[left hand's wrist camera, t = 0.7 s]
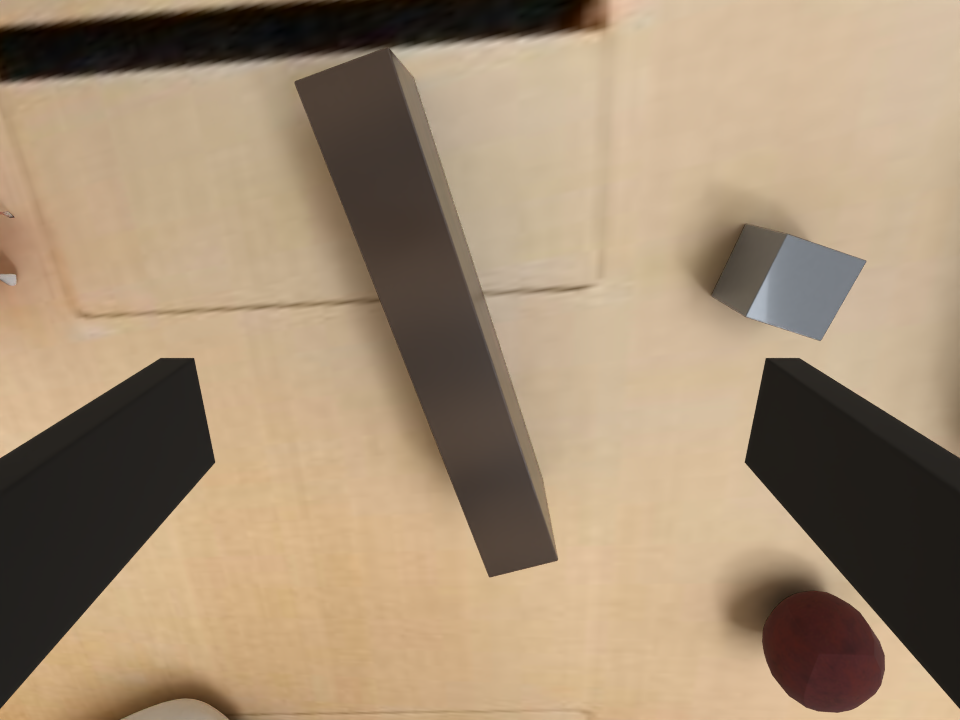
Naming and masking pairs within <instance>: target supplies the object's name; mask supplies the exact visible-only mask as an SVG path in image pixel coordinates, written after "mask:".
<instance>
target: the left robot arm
mask: <svg viewBox="0 0 960 720" xmlns="http://www.w3.org/2000/svg"><path fill="white" fill-rule="evenodd" d="M214 463H215V459H214V454H213V449H212V444H211V439H210V434H209V429H208V424H207V419H206V414H205V410H204V405H203V400H202V395H201V390H200V385H199V380H198V375H197V370H196V365H195V360H194V358H160V359H159V360H157V361H155V362H154V363H152V364H151V365H149V366H147V367H146V368H144V369H143V370H141V371H139V372H138V373H136V374H135V375H133V376H131V377H130V378H128V379H127V380H125V381H123V382H122V383H120V384H119V385H117V386H115V387H114V388H112V389H111V390H109V391H107V392H106V393H104V394H102V395H101V396H99V397H98V398H96V399H94V400H93V401H91V402H90V403H88V404H86V405H85V406H83V407H82V408H80V409H78V410H77V411H75V412H74V413H72V414H70V415H69V416H67V417H66V418H64V419H62V420H61V421H59V422H58V423H56V424H54V425H53V426H51V427H50V428H48V429H46V430H45V431H43V432H42V433H40V434H38V435H37V436H35V437H34V438H32V439H30V440H29V441H27V442H26V443H24V444H22V445H21V446H19V447H18V448H16V449H14V450H13V451H11V452H10V453H8V454H6V455H5V456H3V457H2V458H0V708H1V707H2V706H3V705H4V704H5V703H6V702H7V700H8V699H9V698H10V697H11V696H12V695H13V694H14V692H15V691H16V690H17V689H18V688H19V687H20V686H21V684H22V683H23V682H24V681H25V680H26V679H27V678H28V676H29V675H30V674H31V673H32V672H33V671H34V669H35V668H36V667H37V666H38V665H39V664H40V663H41V661H42V660H43V659H44V658H45V657H46V656H47V655H48V653H49V652H50V651H51V650H52V649H53V648H54V647H55V645H56V644H57V643H58V642H59V641H60V640H61V639H62V637H63V636H64V635H65V634H66V633H67V632H68V631H69V629H70V628H71V627H72V626H73V625H74V624H75V622H76V621H77V620H78V619H79V618H80V617H81V616H82V614H83V613H84V612H85V611H86V610H87V609H88V608H89V606H90V605H91V604H92V603H93V602H94V601H95V600H96V598H97V597H98V596H99V595H100V594H101V593H102V592H103V590H104V589H105V588H106V587H107V586H108V585H109V584H110V582H111V581H112V580H113V579H114V578H115V577H116V576H117V574H118V573H119V572H120V571H121V570H122V569H123V567H124V566H125V565H126V564H127V563H128V562H129V561H130V559H131V558H132V557H133V556H134V555H135V554H136V553H137V551H138V550H139V549H140V548H141V547H142V546H143V545H144V543H145V542H146V541H147V540H148V539H149V538H150V537H151V535H152V534H153V533H154V532H155V531H156V530H157V529H158V527H159V526H160V525H161V524H162V523H163V522H164V520H165V519H166V518H167V517H168V516H169V515H170V514H171V512H172V511H173V510H174V509H175V508H176V507H177V506H178V504H179V503H180V502H181V501H182V500H183V499H184V498H185V496H186V495H187V494H188V493H189V492H190V491H191V490H192V488H193V487H194V486H195V485H196V484H197V483H198V482H199V480H200V479H201V478H202V477H203V476H204V475H205V473H206V472H207V471H208V470H209V469H210V468H211V467H212V465H213V464H214ZM745 463H746V464H747V465H748V467H749V468H750V469H751V470H752V471H753V472H754V473H755V475H756V476H757V477H758V478H759V479H760V480H761V482H762V483H763V484H764V485H765V486H766V487H767V488H768V490H769V491H770V492H771V493H772V494H773V495H774V496H775V498H776V499H777V500H778V501H779V502H780V503H781V504H782V506H783V507H784V508H785V509H786V510H787V511H788V512H789V514H790V515H791V516H792V517H793V518H794V519H795V520H796V522H797V523H798V524H799V525H800V526H801V527H802V529H803V530H804V531H805V532H806V533H807V534H808V535H809V537H810V538H811V539H812V540H813V541H814V542H815V543H816V545H817V546H818V547H819V548H820V549H821V550H822V551H823V553H824V554H825V555H826V556H827V557H828V558H829V559H830V561H831V562H832V563H833V564H834V565H835V566H836V567H837V569H838V570H839V571H840V572H841V573H842V574H843V576H844V577H845V578H846V579H847V580H848V581H849V582H850V584H851V585H852V586H853V587H854V588H855V589H856V590H857V592H858V593H859V594H860V595H861V596H862V597H863V598H864V600H865V601H866V602H867V603H868V604H869V605H870V606H871V608H872V609H873V610H874V611H875V612H876V613H877V614H878V616H879V617H880V618H881V619H882V620H883V621H884V622H885V624H886V625H887V626H888V627H889V628H890V629H891V631H892V632H893V633H894V634H895V635H896V636H897V637H898V639H899V640H900V641H901V642H902V643H903V644H904V645H905V647H906V648H907V649H908V650H909V651H910V652H911V653H912V655H913V656H914V657H915V658H916V659H917V660H918V661H919V663H920V664H921V665H922V666H923V667H924V668H925V669H926V671H927V672H928V673H929V674H930V675H931V676H932V678H933V679H934V680H935V681H936V682H937V683H938V684H939V686H940V687H941V688H942V689H943V690H944V691H945V692H946V694H947V695H948V696H949V697H950V698H951V699H952V700H953V702H954V703H955V704H956V705H957V706H958V707H959V708H960V458H958V457H957V456H955V455H954V454H952V453H950V452H949V451H947V450H946V449H944V448H942V447H941V446H939V445H938V444H936V443H934V442H933V441H931V440H930V439H928V438H926V437H925V436H923V435H922V434H920V433H918V432H917V431H915V430H914V429H912V428H910V427H909V426H907V425H906V424H904V423H902V422H901V421H899V420H898V419H896V418H894V417H893V416H891V415H890V414H888V413H886V412H885V411H883V410H882V409H880V408H878V407H877V406H875V405H874V404H872V403H870V402H869V401H867V400H866V399H864V398H862V397H861V396H859V395H858V394H856V393H854V392H853V391H851V390H849V389H848V388H846V387H845V386H843V385H841V384H840V383H838V382H837V381H835V380H833V379H832V378H830V377H829V376H827V375H825V374H824V373H822V372H821V371H819V370H817V369H816V368H814V367H813V366H811V365H809V364H808V363H806V362H805V361H803V360H801V359H800V358H766V360H765V365H764V370H763V375H762V380H761V385H760V390H759V395H758V400H757V405H756V410H755V414H754V419H753V424H752V429H751V434H750V439H749V444H748V449H747V454H746V459H745Z"/></svg>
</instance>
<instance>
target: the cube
mask: <svg viewBox="0 0 960 720" xmlns="http://www.w3.org/2000/svg"><path fill="white" fill-rule="evenodd" d="M865 263H866V260H863V259H860V258H857V257H854V256H851V255H848V254H845V253H842V252H839V251H837V250H834V249H831V248H828V247H825V246H822V245H819V244H816V243H813V242H810V241H807V240H804V239H801V238H798V237H795V236H793V235H790V234H786V233H782V232H778V231H774V230H770V229H766V228H762V227H758V226H754V225H750V224H745V226H744V228H743V230H742V233H741V235H740V237H739V239H738V241H737V243H736V245H735V247H734V249H733V251H732V253H731V255H730V258H729V260H728V262H727V264H726V266H725V268H724V270H723V272H722V274H721V276H720V278H719V280H718V283H717V285H716V287H715V289H714V291H713V293H712V295H711V296H712V297H713V298H715V299H717V300H718V301H720V302H722V303H723V304H725V305H726V306H728V307H730V308H731V309H733V310H735V311H736V312H738V313H740V314H741V315H743V316H745V317H747V318H750V319H753V320H756V321H759V322H763V323H766V324H769V325H772V326H775V327H778V328H781V329H784V330H788V331H791V332H794V333H797V334H800V335H803V336H806V337H809V338H813V339H816V340H819V341H821V340H822V338H823V336H824V334H825V333H826V331H827V329H828V327H829V326H830V324H831V322H832V321H833V319H834V317H835V315H836V314H837V312H838V310H839V308H840V307H841V305H842V303H843V301H844V300H845V298H846V296H847V294H848V293H849V291H850V289H851V287H852V286H853V284H854V282H855V280H856V279H857V277H858V275H859V273H860V272H861V270H862V268H863V266H864V265H865Z"/></svg>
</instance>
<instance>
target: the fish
mask: <svg viewBox="0 0 960 720" xmlns="http://www.w3.org/2000/svg"><path fill="white" fill-rule="evenodd" d="M0 214H3V215H5V216H7V217H9V218H13V217H14V216H13V215H12V214H10V213H9V212H8V211H6V212H0ZM0 280H1V281H3V282H5V283H6V284H8V285H16V283H17V281H16V275H15V274H0Z"/></svg>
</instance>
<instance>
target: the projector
mask: <svg viewBox="0 0 960 720" xmlns="http://www.w3.org/2000/svg"><path fill="white" fill-rule="evenodd" d="M121 720H229V719H228V718H227V717H226V716H224V715H223V714H222V713H221V712H219V711H218V710H217V709H215V708H214V707H212V706H210V705H209V704H207V703H205V702H202V701H199V700H196V699H187V698H185V699H176V700H171V701H167V702H163V703H160V704H157V705H154V706H151V707H148V708H146V709H143V710H141V711H138V712H136V713H134V714H131V715H129V716H127V717H125V718H123V719H121Z"/></svg>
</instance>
